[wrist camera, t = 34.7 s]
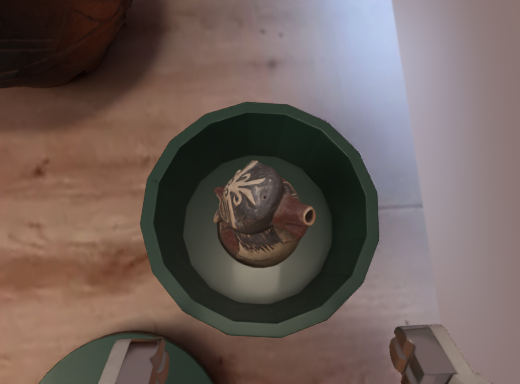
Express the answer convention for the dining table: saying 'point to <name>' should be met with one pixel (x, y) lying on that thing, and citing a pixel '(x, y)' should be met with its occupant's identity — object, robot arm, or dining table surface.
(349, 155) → the pot
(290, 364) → the dining table surface
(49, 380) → the lid
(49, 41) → the bowl
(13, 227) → the dining table surface
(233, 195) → the figurine
